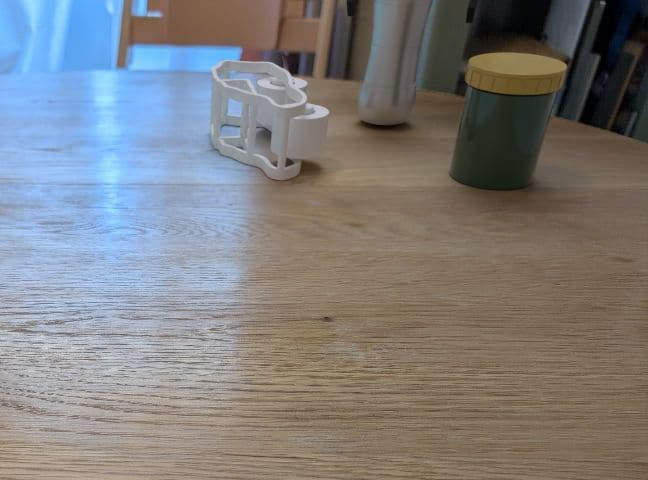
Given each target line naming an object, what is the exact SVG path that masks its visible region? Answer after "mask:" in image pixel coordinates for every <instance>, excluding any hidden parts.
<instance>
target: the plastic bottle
mask: <svg viewBox="0 0 648 480" xmlns="http://www.w3.org/2000/svg"><path fill="white" fill-rule="evenodd" d="M432 4H433V0H373V15H372V16H373V19H372V20H373V24H372V33H371V39H372V40H371V44H370V52H369V56H368V61H367V64H366V69H365V73H364V78H363V79H364V80H363V81H362V82H361V86H360V88H359V92H358V95H357V99H356V101H357V102H356V104H357V108H356V109H357V114H358V117H359V119H360V120H361V121H362V122H365V123H367V124H372V125H377V126H394V125H400V124H404V123H405V122H406V121H407V120H408V119H409V118H410V117H411V116H412V114H413V111H414V108H415V105H416V103H417V101H416V99H417V83H416V81H417V74H418V73H417V71H418V63H419V53H420V49H421V42H422V40H423V36H424V32H425V27H426V23H427V20H428V17H429V14H430V11H431V8H432V6H433V5H432Z"/></svg>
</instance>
